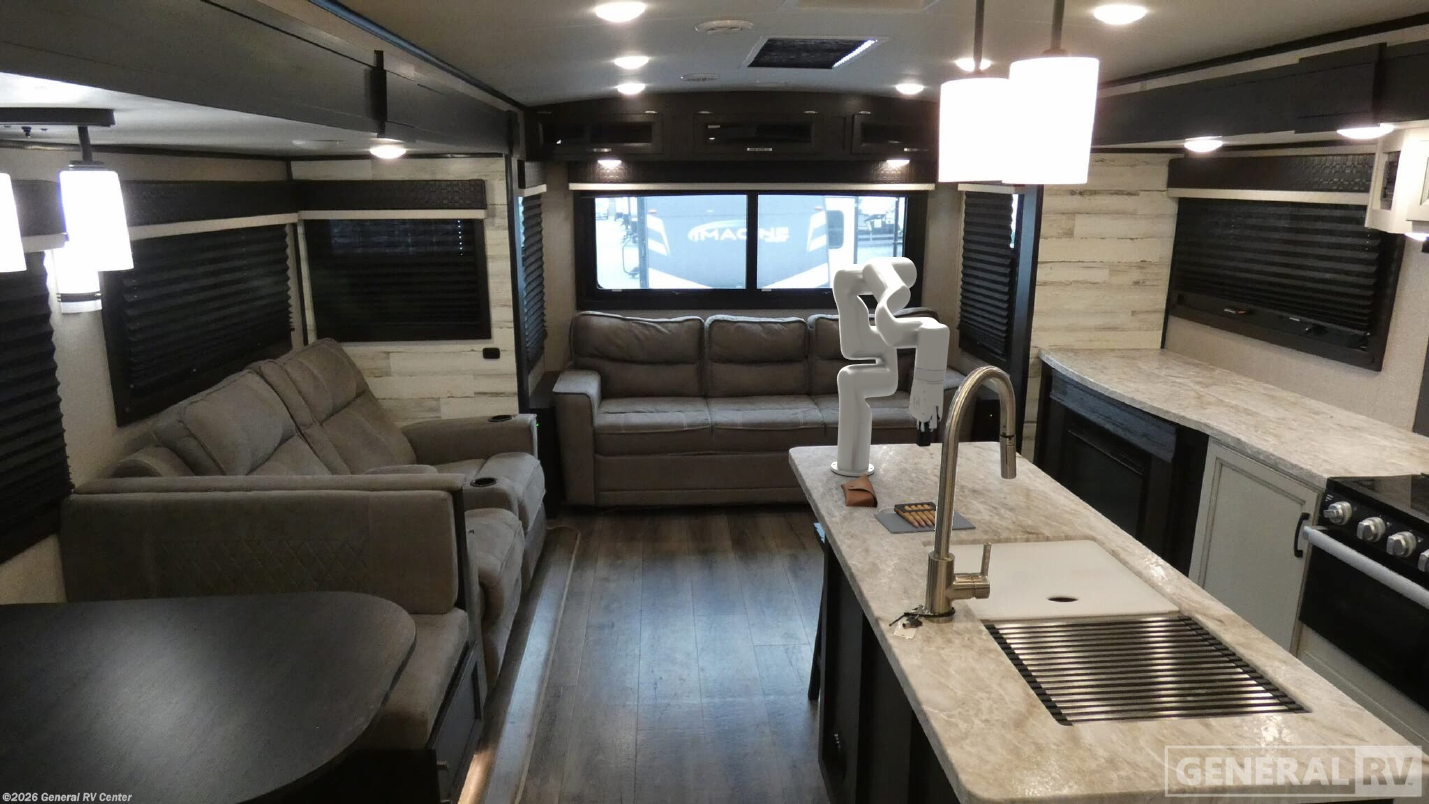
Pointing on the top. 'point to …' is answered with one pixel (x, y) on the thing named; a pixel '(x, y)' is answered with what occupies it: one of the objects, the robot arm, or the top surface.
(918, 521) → the ammunition clip
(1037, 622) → the top surface
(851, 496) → the sunglasses case
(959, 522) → the rubber mat
